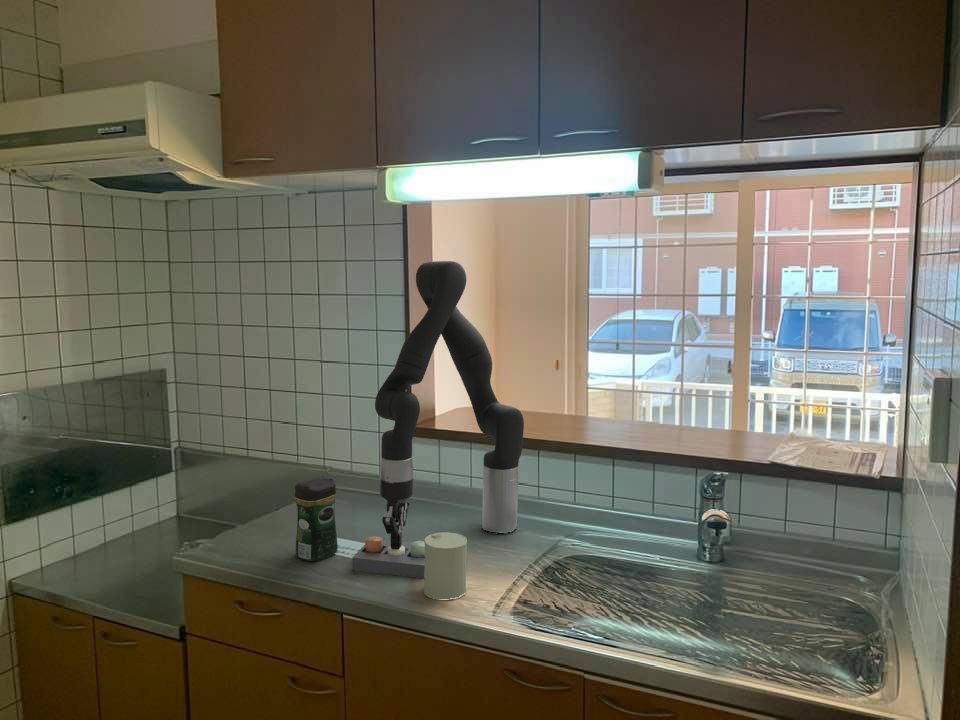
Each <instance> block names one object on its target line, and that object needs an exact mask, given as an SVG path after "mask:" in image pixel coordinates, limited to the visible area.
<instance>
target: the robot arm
mask: <svg viewBox="0 0 960 720" xmlns="http://www.w3.org/2000/svg"><path fill="white" fill-rule="evenodd" d="M415 284H416V289H417V291H418V294H419V296H420V298H421V300H422V301H423V302H424V305H426V307H427V311H426V312H425V313H424V315H423V317H422V319H420V321H419V322H418V323H417V324H416V326H415V327H414V328H413V330H412V331H411V332H410V333H409V334H408V336H407V338H406V339H405V340H404V342H403V344H402V347H401V349H400V351H399V354H398V357H397V360H396V363H395V367H394V368H393V370H392V371H391V372H390V373H389V375H388V376H387V378H386V379H385V381H384V382H383V384H382V385H381V387H380V388H379V389H378V392H377V394H376V395H375V396H376V397H375V401H374V408H375V412H376V414H377V415H378V416H379V417H380V418H381V419H385V420H390V421H393V422H394V425H393V429H389V430H386V431H384V432H383V434H382V435H381V444H380V445H381V448H380V452H381V453H380V456H381V458H380V466H379V495H380V497H381V498H383V499H385V500H386V501H387V502H386V505H385V513H386V516H382V524H383V528H384V529H385V533H386V534H388V535H389V534H390V540H391V549H397V550H398V549H399V548H400V547H401V546H402V542H403V541H402V539H403V538H402V537H403V534H402V532H403V531H404V527H405V526H406V523H407V519H408V513H409V508H410V501H407V499H410V498H412V496H413V494H414V492H413V491H414V483H413V482H414V465H413V464H414V461H413V440H414V439H413V438H414V435H415V432H416V428H417V424H418V421H419V417H420V413H421V412H420V411H421V406H420V402H419V401H420V400H419V399H418V397H417V396H416V395H415V394H414V393H413V392H410V391H407V390H408V388H409V387H411V386H413V385H418V384H421V383H422V381H423V379H424V377H425V374H426V372H427V369H428V367H429V363H430V361H431V358H432V355H433V352H434V349H435V348H436V345H437V342H438V340H439V338H440V337H442V338H443V341H444V343H445V345H446V347H447V350H448V353H449V355H450V356H451V357H450V358H451V360H452V362H453V365H454V366H455V368H456V371H457V373H458V375H459V377H460V379H461V382H462V384H463V386H464V389H465V391H466V393H467V396H468V398H469V400H470V404H471V407H472V409H473V414H474V417H475V420H476V423H477V426H478V427H479V430H480V431H481V432H482V434H483V435H485V436H486V437H489V438H492V439H494V440H495V446H494V450H490V451H487V452H486V453H484V455H483V467H482V468H483V472H482V513H481V514H482V515H481V519H482V520H481V523H482V524H481V528H482V529H483V531H485V530H486V532H487V531H490V532H489V533H491V532H497V533H499V532H508V531H512V530H514V529H516V530H517V528H518V527H517V526H518V525H517V523H518V499H519V498H518V495H519V489H518V488H519V465H520V464H519V463H520V458H521V455H522V453H523V443H524V442H523V440H524V427H525V425H524V424H525V422H524V416H523V414H522V412H521V410H520V409H519V408H517V407H514V406H511V405H506V404H501V403H500V401H499V400H498V398H497V397H496V395H495V392H494V389H493V388H492V384H491V382H492V381H491V378H492V371H493V359H492V356H491V353H490V350H489V348H488V345H487V343H486V341H485V339H484V337H483V335H482V334H481V333H480V332H479V331H480V330H478V329H477V328H476V327H475V325H473V324H472V323H471V321H469V320H468V319H467V318H466V316H464V314H462V313H461V311H460V310H459V308H458V307H457V305H458V304H459V302H460V299H461V298H462V296H463V295H464V291H465V290H466V289H465V288H466V286H467V273H466V270H465V268H464V267H463V266H462V264H460V263H459V262H457V261H452V260H439V261H438V260H437V261H427V262H424V263H422V264H421V265H419V267H418V268H417V270H416V273H415ZM516 527H517V528H516ZM497 533H496V534H497Z"/></svg>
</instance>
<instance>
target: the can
mask: <svg viewBox="0 0 960 720" xmlns="http://www.w3.org/2000/svg"><path fill="white" fill-rule="evenodd" d="M423 541H424V542H425V578H423V579H424V581H423V582H424V585H423V593H424V595H425V597H427V596H428V598H429V597H431V598H434V599H450V598H455V597H459V596H460V595H462V594H464V593H465V592H466V593H467V546H468V545H467V544H468V539H467V537H466V536H464V535H462V534H460V533H456V532H447V531H446V532H445V531H444V532H443V531H441V532H435V533H431V534H429V535H427V536H426V537H425V538H424V540H423ZM431 598H430V599H431ZM434 599H433V600H434Z"/></svg>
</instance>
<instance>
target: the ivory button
mask: <svg viewBox="0 0 960 720" xmlns="http://www.w3.org/2000/svg"><path fill="white" fill-rule="evenodd" d="M404 554H405V547H404V546H401V547H400V548H399V549H398V550H397V549H391V546H389V547H388V555H397V556H403V555H404Z"/></svg>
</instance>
